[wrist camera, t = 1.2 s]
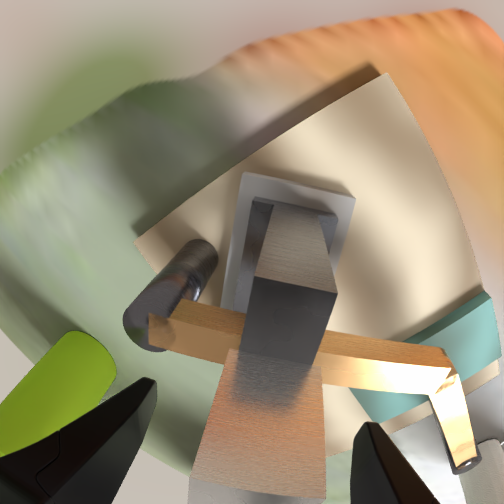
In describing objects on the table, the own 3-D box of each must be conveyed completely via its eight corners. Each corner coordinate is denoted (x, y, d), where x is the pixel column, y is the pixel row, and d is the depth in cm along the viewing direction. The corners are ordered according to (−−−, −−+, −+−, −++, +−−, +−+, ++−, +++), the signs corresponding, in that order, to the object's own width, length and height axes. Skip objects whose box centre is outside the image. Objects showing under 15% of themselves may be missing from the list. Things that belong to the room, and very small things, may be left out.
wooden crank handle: (437, 407, 20) (461, 476, 13) (175, 262, 18) (116, 331, 12) (492, 355, 18) (531, 419, 11) (226, 169, 16) (178, 196, 9)
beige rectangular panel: (324, 449, 24) (324, 466, 23) (140, 237, 19) (125, 247, 17) (495, 366, 19) (504, 381, 17) (381, 75, 14) (392, 68, 12)
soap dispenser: (47, 341, 24) (-77, 486, 6) (87, 322, 22) (-66, 510, 4) (84, 388, 26) (-16, 540, 7) (129, 377, 24) (18, 572, 5)
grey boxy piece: (229, 337, 18) (164, 538, 7) (254, 196, 15) (140, 387, 4) (295, 351, 18) (280, 559, 7) (335, 213, 15) (425, 433, 3)
